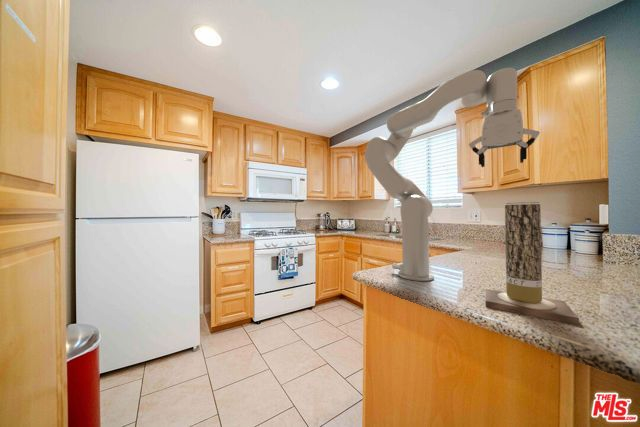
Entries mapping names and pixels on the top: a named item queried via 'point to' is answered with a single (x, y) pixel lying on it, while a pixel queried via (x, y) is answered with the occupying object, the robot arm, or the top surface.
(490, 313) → the top surface
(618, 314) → the top surface
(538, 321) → the top surface
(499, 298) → the walnut board
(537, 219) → the brown cylinder
